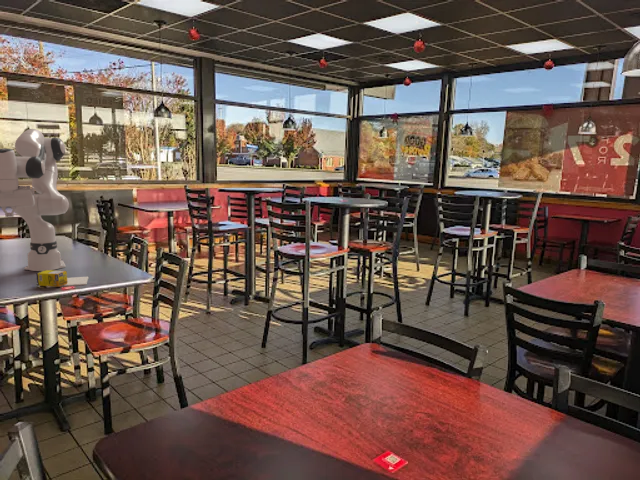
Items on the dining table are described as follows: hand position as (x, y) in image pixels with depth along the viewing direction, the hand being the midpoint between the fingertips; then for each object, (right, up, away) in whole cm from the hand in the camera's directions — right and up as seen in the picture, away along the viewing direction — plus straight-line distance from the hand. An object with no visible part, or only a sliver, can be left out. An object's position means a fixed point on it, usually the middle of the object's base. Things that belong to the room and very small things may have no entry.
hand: (9, 216), depth 211 cm
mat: (+21, -30, +10) cm, 38 cm away
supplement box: (+12, -28, +4) cm, 30 cm away
